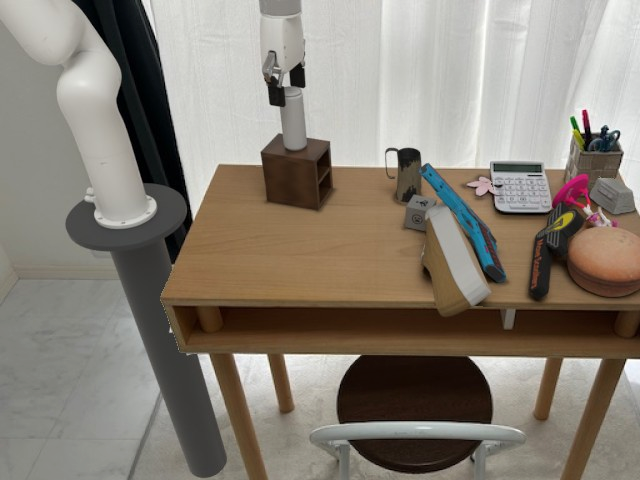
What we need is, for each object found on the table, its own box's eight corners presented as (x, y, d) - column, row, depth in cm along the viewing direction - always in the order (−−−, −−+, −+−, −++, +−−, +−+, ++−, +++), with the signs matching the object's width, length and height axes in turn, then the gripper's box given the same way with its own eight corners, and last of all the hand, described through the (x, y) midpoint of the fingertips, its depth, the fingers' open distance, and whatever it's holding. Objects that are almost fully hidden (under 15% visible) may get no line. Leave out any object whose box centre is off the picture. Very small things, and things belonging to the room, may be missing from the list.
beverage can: (281, 143, 131) (275, 87, 123) (304, 139, 132) (299, 84, 124) (287, 153, 127) (280, 97, 120) (309, 149, 129) (305, 94, 121)
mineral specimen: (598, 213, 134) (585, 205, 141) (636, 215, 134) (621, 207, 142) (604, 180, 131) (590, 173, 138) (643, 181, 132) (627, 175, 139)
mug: (420, 191, 140) (422, 142, 132) (421, 204, 136) (423, 155, 128) (385, 191, 140) (385, 142, 132) (385, 204, 136) (385, 155, 128)
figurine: (557, 186, 127) (607, 237, 120) (592, 166, 129) (643, 215, 123) (547, 215, 135) (593, 263, 129) (580, 195, 138) (627, 242, 132)
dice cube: (428, 232, 128) (429, 211, 124) (405, 227, 129) (406, 206, 126) (435, 219, 131) (436, 199, 128) (413, 214, 133) (413, 194, 129)
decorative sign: (537, 215, 131) (578, 190, 125) (543, 222, 132) (584, 198, 126) (528, 293, 111) (576, 267, 105) (535, 301, 112) (583, 276, 106)
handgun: (498, 289, 116) (488, 242, 127) (510, 281, 114) (500, 235, 126) (420, 211, 104) (417, 167, 116) (433, 201, 103) (429, 158, 114)
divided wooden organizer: (267, 201, 136) (260, 151, 128) (284, 181, 142) (278, 132, 134) (318, 210, 133) (314, 160, 125) (333, 189, 140) (330, 141, 132)
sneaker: (439, 185, 122) (396, 211, 124) (475, 270, 100) (422, 300, 102) (461, 221, 128) (420, 245, 130) (500, 308, 106) (450, 336, 108)
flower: (494, 199, 135) (493, 205, 136) (517, 181, 141) (516, 187, 142) (457, 184, 139) (456, 190, 141) (481, 167, 146) (480, 173, 147)
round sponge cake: (572, 210, 121) (562, 255, 126) (572, 246, 108) (561, 294, 113) (656, 222, 118) (642, 267, 124) (665, 260, 105) (650, 309, 111)
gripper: (281, -11, 118) (288, 77, 130) (239, 15, 106) (251, 110, 117) (318, -6, 117) (322, 82, 128) (279, 20, 104) (287, 116, 116)
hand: (288, 96), depth 123 cm, fingers open, 9 cm apart
